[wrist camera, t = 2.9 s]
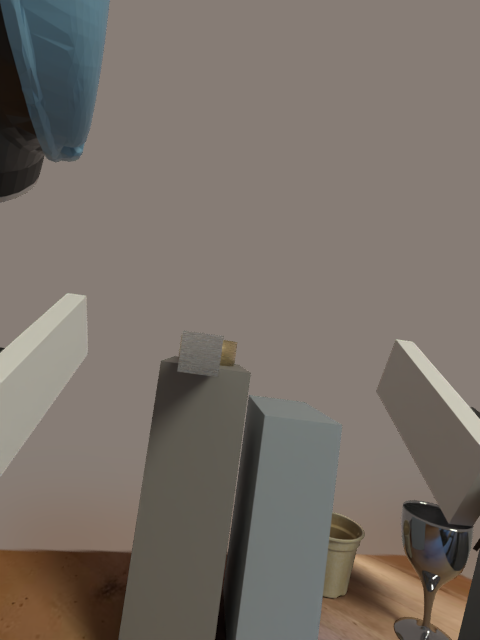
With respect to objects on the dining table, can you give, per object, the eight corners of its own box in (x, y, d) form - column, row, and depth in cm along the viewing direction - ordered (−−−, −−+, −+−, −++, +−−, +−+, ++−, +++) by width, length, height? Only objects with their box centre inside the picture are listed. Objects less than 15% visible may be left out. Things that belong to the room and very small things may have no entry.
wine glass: (384, 639, 45) (397, 511, 46) (396, 606, 52) (407, 495, 53) (460, 678, 41) (473, 536, 42) (463, 637, 47) (474, 515, 49)
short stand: (229, 691, 35) (265, 415, 37) (223, 588, 50) (249, 395, 52) (311, 696, 36) (342, 425, 38) (281, 593, 51) (304, 402, 53)
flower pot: (284, 564, 58) (291, 507, 59) (340, 566, 60) (347, 511, 60) (304, 606, 49) (311, 538, 50) (370, 608, 51) (377, 542, 51)
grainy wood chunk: (149, 367, 27) (155, 326, 27) (181, 357, 50) (184, 335, 50) (245, 380, 27) (250, 340, 28) (232, 364, 50) (236, 342, 51)
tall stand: (111, 682, 35) (161, 361, 37) (141, 581, 50) (174, 356, 52) (208, 689, 35) (250, 372, 38) (208, 587, 50) (238, 364, 53)
